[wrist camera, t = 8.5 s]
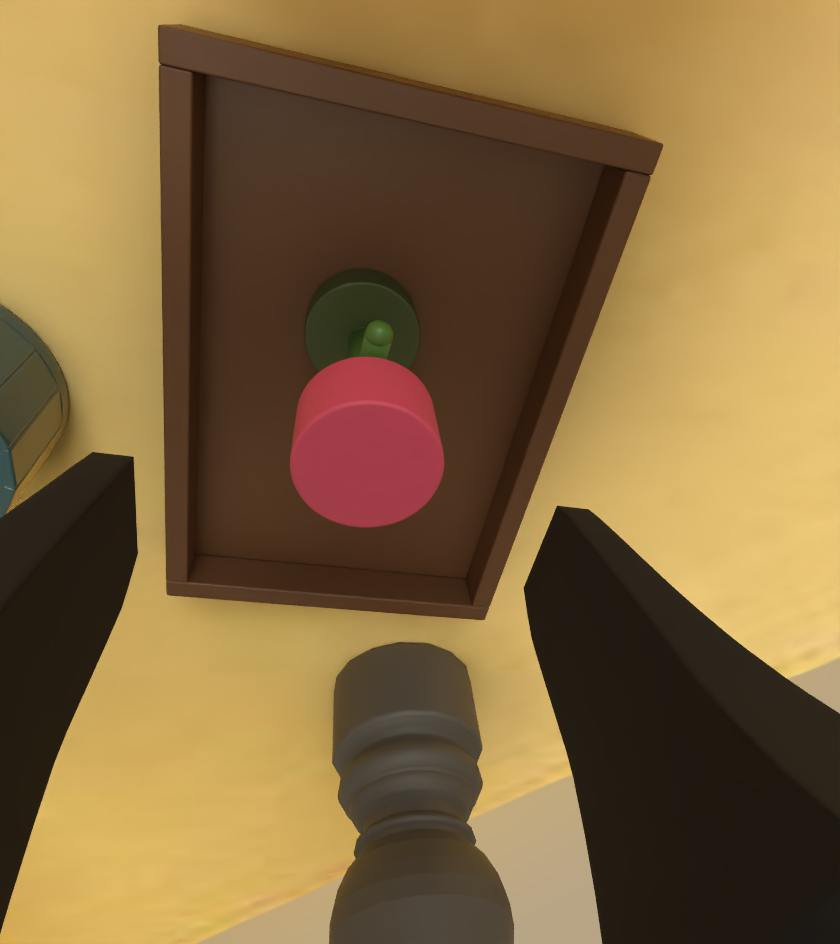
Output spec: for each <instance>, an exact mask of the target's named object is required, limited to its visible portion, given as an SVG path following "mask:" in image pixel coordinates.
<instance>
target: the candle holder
mask: <svg viewBox="0 0 840 944" xmlns="http://www.w3.org/2000/svg"><path fill="white" fill-rule="evenodd" d="M481 751H482V743H481V737H480V732H479V726H478V721H477V715H476V710H475V704H474V699H473V693H472V688H471V682H470V679H469V675H468V672H467V668H466V666H465V665H464V664H463V663H462V662H461V661H460V660H459V659H458V658H457V657H455V656H454V655H453V654H452V653H451V652H449V651H446V650H443V649H440V648H437V647H435V646H432V645H429V644H416V643H396V644H392V645H387V646H383V647H378V648H374V649H371V650H369V651H367V652H366V653H364V654H362V655H360V656H358V657H357V658H355V659H353V660H351V661H350V662H349V663H348V664H347V665H346V667H345V668H344V669H343V670H342V671H341V673H340V674H339V675H338V676H337V678H336V684H335V691H334V714H333V757H332V763H333V765H334V767H335V769H336V770H337V772H338V774H339V776H340V778H341V780H340V785H339V791H338V800H339V803H340V804H341V806H342V808H343V809H344V811H345V813H346V815H347V816H348V818H349V819H350V820H352V822H353V824H354V825H355V827H356V829H357V830H358V832H359V833H360V834H361V835H360V836H359V837H358V839H357V841H356V845H355V850H354V856H355V857H356V859H355V861H354V862H353V863H352V864H351V866H350V867H349V868H348V870H347V872H346V874H345V876H344V878H343V880H342V883H341V885H340V887H339V889H338V891H337V895H336V899H335V904H334V908H333V912H332V917H331V921H330V935H329V944H514V923H513V919H512V913H511V907H510V903H509V900H508V897H507V895H506V892H505V889H504V887H503V884H502V882H501V880H500V877H499V875H498V873H497V871H496V870H495V868H494V867H493V865H492V864H491V863H490V861H489V860H488V858H487V857H486V856H485V854H484V853H483V852H482V851H480V850H479V849H478V848H477V847H476V846H474V845H475V843H476V839H475V836H474V834H473V831H472V828H471V827H470V826H469V825H468V824H467V823H466V822H467V821H468V819H469V816H470V814H471V811H472V809H473V807H474V806H475V804H476V801H477V799H478V796H479V794H480V792H481V789H482V785H483V782H482V778H481V775H480V772H479V768H478V765H477V762H478V759H479V756H480V754H481Z"/></svg>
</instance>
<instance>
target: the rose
mask: <svg viewBox="0 0 840 944" xmlns="http://www.w3.org/2000/svg"><path fill="white" fill-rule="evenodd" d="M420 341H421V332H420V325H419V321H418V316H417V312H416V308H415V305H414V302H413V300H412V298H411V296H410V295H409V293H408V292H407V290H406V289H405V288H404V287H403V286H402V285H401V284H400V283H399V282H398V281H397V280H395V279H394V278H392V277H391V276H389V275H387V274H385V273H382V272H380V271H376V270H372V269H365V268H356V269H349V270H345V271H342V272H339V273H337V274H335V275H333V276H331V277H330V278H328V279H327V280H326V281H324V282H323V283H322V284H321V285H320V286H319V287H318V288H317V290H316V291H315V293H314V294H313V296H312V298H311V300H310V302H309V305H308V308H307V314H306V320H305V327H304V343H305V347H306V351H307V353H308V356H309V358H310V360H311V362H312V363H313V365H314V366H315V368H316V369H317V370H318V371H319V373H318V374H316V375H315V376H314V377H313V378H312V379H311V380H310V382H309V383H308V384H307V386H306V387H305V389H304V390H303V392H302V394H301V396H300V399H299V402H298V406H297V412H296V419H295V426H294V434H293V441H292V448H291V455H290V472H291V477H292V480H293V483H294V486H295V488H296V490H297V492H298V493H299V495H300V496H301V498H302V499H303V500H304V501H305V502H306V504H307V505H308V506H309V507H310V508H312V509H313V510H314V511H315V512H317V513H318V514H320V515H321V516H323V517H325V518H327V519H329V520H331V521H333V522H336V523H339V524H342V525H346V526H352V527H361V528H371V527H381V526H386V525H390V524H394V523H396V522H399V521H402V520H404V519H406V518H408V517H410V516H411V515H413V514H414V513H416V512H418V511H419V510H420V509H421V508H422V507H424V506H425V505H426V503H427V502H428V501H429V500H430V499H431V498H432V496H433V495H434V494H435V492H436V490H437V488H438V486H439V484H440V482H441V479H442V476H443V471H444V454H443V448H442V444H441V439H440V435H439V430H438V425H437V421H436V416H435V411H434V407H433V403H432V400H431V397H430V395H429V392H428V390H427V389H426V387H425V386H424V384H423V383H422V382H421V381H420V379H419V378H418V377H417V376H416V375H414V374H413V373H412V372H411V371H409V370H408V369H409V368H410V367H411V366H412V364H413V362H414V361H415V359H416V356H417V354H418V351H419V347H420Z"/></svg>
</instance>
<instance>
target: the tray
mask: <svg viewBox="0 0 840 944" xmlns="http://www.w3.org/2000/svg"><path fill="white" fill-rule="evenodd" d="M158 51H159V63H160V64H161V65H160V66H159V112H160V181H161V251H162V320H163V390H164V459H165V529H166V580H167V581H166V589H167V595H171V596H184V597H196V598H209V599H222V600H234V601H247V602H260V603H272V604H285V605H298V606H310V607H323V608H336V609H348V610H361V611H374V612H386V613H399V614H412V615H424V616H437V617H450V618H462V619H475V620H484V619H485V617H486V614H487V612H488V609H489V606H490V604H491V601H492V599H493V596H494V593H495V591H496V588H497V585H498V583H499V580H500V577H501V575H502V572H503V569H504V567H505V564H506V561H507V559H508V556H509V553H510V551H511V548H512V545H513V543H514V540H515V537H516V535H517V532H518V529H519V527H520V524H521V521H522V519H523V516H524V513H525V511H526V508H527V505H528V503H529V500H530V498H531V495H532V492H533V490H534V487H535V484H536V482H537V479H538V476H539V474H540V471H541V468H542V466H543V463H544V460H545V458H546V455H547V452H548V450H549V447H550V444H551V442H552V439H553V436H554V434H555V431H556V428H557V426H558V423H559V420H560V418H561V415H562V412H563V410H564V407H565V404H566V402H567V399H568V396H569V394H570V391H571V388H572V386H573V383H574V381H575V378H576V375H577V373H578V370H579V367H580V365H581V362H582V359H583V357H584V354H585V351H586V349H587V346H588V343H589V341H590V338H591V335H592V333H593V330H594V327H595V325H596V322H597V319H598V317H599V314H600V311H601V309H602V306H603V303H604V301H605V298H606V295H607V293H608V290H609V287H610V285H611V282H612V279H613V277H614V274H615V272H616V269H617V266H618V264H619V261H620V258H621V256H622V253H623V250H624V248H625V245H626V242H627V240H628V237H629V234H630V232H631V229H632V226H633V224H634V221H635V218H636V216H637V213H638V210H639V208H640V205H641V202H642V200H643V197H644V194H645V192H646V189H647V186H648V184H649V181H650V176H649V175H652V174H653V172H654V169H655V167H656V164H657V161H658V159H659V156H660V153H661V151H662V148H663V144H661V143H659V142H656V141H654V140H651V139H649V138H646V137H643V136H641V135H638V134H636V133H633V132H629V131H625V130H621V129H616V128H612V127H608V126H604V125H600V124H596V123H591V122H587V121H583V120H579V119H575V118H570V117H566V116H562V115H558V114H554V113H549V112H545V111H541V110H537V109H533V108H528V107H524V106H520V105H516V104H512V103H508V102H503V101H499V100H495V99H491V98H487V97H482V96H478V95H474V94H470V93H466V92H461V91H457V90H453V89H449V88H445V87H441V86H436V85H432V84H428V83H424V82H420V81H415V80H411V79H407V78H403V77H399V76H394V75H390V74H386V73H382V72H378V71H373V70H369V69H365V68H361V67H357V66H353V65H348V64H344V63H340V62H336V61H332V60H327V59H323V58H319V57H315V56H311V55H306V54H302V53H298V52H294V51H290V50H285V49H281V48H277V47H273V46H269V45H265V44H260V43H256V42H252V41H248V40H244V39H239V38H235V37H231V36H227V35H223V34H218V33H214V32H210V31H206V30H202V29H198V28H193V27H189V26H185V25H159V26H158ZM356 268H365V269H372V270H376V271H380V272H382V273H385V274H387V275H389V276H391V277H392V278H394V279H395V280H397V281H398V282H399V283H400V284H401V285H402V286H403V287H404V288H405V289H406V290H407V292H408V293H409V295H410V296H411V298H412V300H413V302H414V305H415V308H416V312H417V316H418V321H419V325H420V332H421V341H420V347H419V351H418V354H417V356H416V359H415V361H414V362H413V364H412V366H411V367H410V368H409V369H408V370H409V371H411V372H412V373H413V374H414V375H416V376H417V377H418V378H419V379H420V381H421V382H422V383H423V384H424V386H425V387H426V389H427V390H428V392H429V395H430V397H431V400H432V403H433V407H434V411H435V416H436V421H437V425H438V430H439V435H440V439H441V444H442V448H443V454H444V471H443V476H442V479H441V482H440V484H439V486H438V488H437V490H436V492H435V494H434V495H433V496H432V498H431V499H430V500H429V501H428V502H427V503H426V505H425V506H424V507H422V508H421V509H420V510H419V511H418V512H416V513H414V514H413V515H411V516H410V517H408V518H406V519H404V520H402V521H399V522H396V523H394V524H390V525H386V526H381V527H371V528H361V527H352V526H346V525H342V524H339V523H336V522H333V521H331V520H329V519H327V518H325V517H323V516H321V515H320V514H318V513H317V512H315V511H314V510H313V509H312V508H310V507H309V506H308V505H307V504H306V502H305V501H304V500H303V499H302V498H301V496H300V495H299V493H298V492H297V490H296V488H295V486H294V483H293V480H292V477H291V472H290V455H291V448H292V441H293V434H294V426H295V419H296V412H297V406H298V402H299V399H300V396H301V394H302V392H303V390H304V389H305V387H306V386H307V384H308V383H309V382H310V380H311V379H312V378H313V377H314V376H315V375H316V374H318V373H319V371H318V370H317V369H316V368H315V366H314V365H313V363H312V362H311V360H310V358H309V356H308V353H307V351H306V347H305V343H304V327H305V320H306V314H307V308H308V305H309V302H310V300H311V298H312V296H313V294H314V293H315V291H316V290H317V288H318V287H319V286H320V285H321V284H322V283H323V282H324V281H326V280H327V279H328V278H330V277H331V276H333V275H335V274H337V273H339V272H342V271H345V270H349V269H356Z"/></svg>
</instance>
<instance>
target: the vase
mask: <svg viewBox="0 0 840 944" xmlns="http://www.w3.org/2000/svg"><path fill="white" fill-rule="evenodd" d="M68 409H69V405H68V393H67V387H66V383H65V380H64V377H63V374H62V372H61V370H60V368H59V366H58V364H57V361H56V360H55V358H54V357H53V355H52V353H51V352H50V350H49V349H48V347H47V346H46V345H45V344H44V342H43V341H42V340H41V339H40V338H39V336H38V335H37V334H36V333H35V332H34V331H33V330H32V329H31V328H30V327H29V326H28V325H27V324H25V323H24V322H23V321H22V320H21V319H19V318H18V317H17V316H16V315H14V314H13V313H12V312H10V311H9V310H7V309H6V308H4V307H3V306H1V305H0V518H1V517H3V516H4V515H5V514H7V513H8V512H10V510H11V509H12V507H13V506H14V504H15V503H16V501H17V500H18V499H19V497H20V496H21V494H22V493H23V491H24V490H25V489H26V487H27V486H28V484H29V483H30V481H31V480H32V479H33V477H34V476H35V474H36V473H37V471H38V470H39V468H40V467H41V466H42V464H43V463H44V461H45V460H46V458H47V457H48V456H49V454H50V453H51V451H52V449H53V446H54V444H55V443H56V441H57V440H58V439H59V437H60V435H61V433H62V432H63V430H64V427H65V424H66V421H67V416H68Z"/></svg>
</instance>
